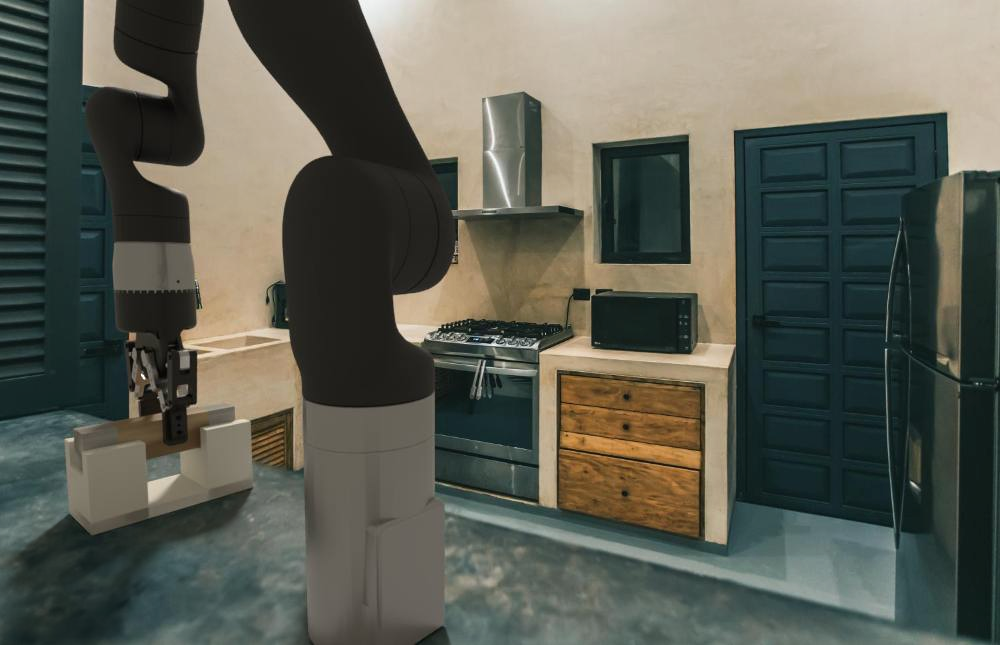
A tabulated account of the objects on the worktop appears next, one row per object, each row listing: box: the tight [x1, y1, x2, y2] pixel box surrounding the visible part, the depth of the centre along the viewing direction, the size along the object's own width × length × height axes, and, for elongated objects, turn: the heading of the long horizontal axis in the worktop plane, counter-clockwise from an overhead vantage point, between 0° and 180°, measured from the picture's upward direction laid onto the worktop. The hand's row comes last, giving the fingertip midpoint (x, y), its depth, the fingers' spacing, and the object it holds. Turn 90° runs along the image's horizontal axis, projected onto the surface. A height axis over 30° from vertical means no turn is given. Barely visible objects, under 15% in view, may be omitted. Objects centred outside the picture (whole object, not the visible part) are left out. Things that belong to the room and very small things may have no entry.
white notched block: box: [63, 418, 254, 536], centre depth 63 cm, size 8×16×8 cm, turn 140°
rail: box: [72, 401, 236, 472], centre depth 63 cm, size 3×15×4 cm, turn 140°
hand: (163, 437), depth 63 cm, fingers open, 6 cm apart
